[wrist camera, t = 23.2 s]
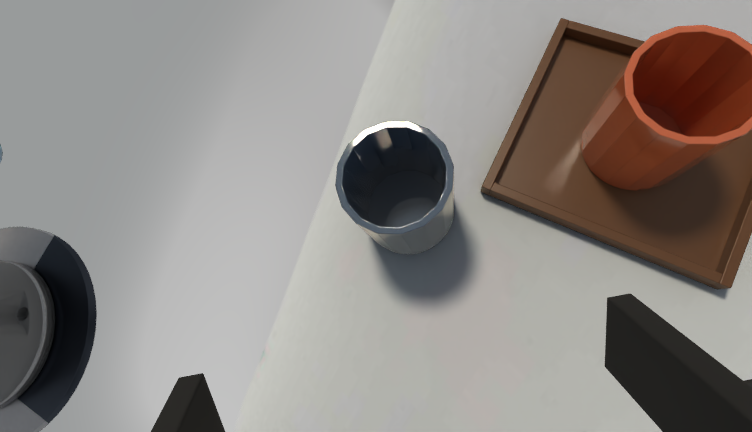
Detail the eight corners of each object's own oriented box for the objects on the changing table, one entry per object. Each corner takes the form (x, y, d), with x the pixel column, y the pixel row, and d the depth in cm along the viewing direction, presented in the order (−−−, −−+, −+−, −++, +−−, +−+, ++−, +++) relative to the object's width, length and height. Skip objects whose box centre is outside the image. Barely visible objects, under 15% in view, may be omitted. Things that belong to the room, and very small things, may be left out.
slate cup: (350, 231, 39) (315, 204, 29) (388, 155, 40) (367, 105, 30) (429, 269, 37) (421, 254, 27) (468, 188, 38) (473, 145, 28)
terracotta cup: (565, 168, 36) (605, 116, 27) (601, 88, 37) (651, 10, 28) (665, 206, 34) (747, 164, 24) (700, 120, 35) (792, 47, 26)
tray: (480, 192, 38) (481, 186, 36) (556, 29, 40) (561, 17, 38) (717, 289, 32) (731, 288, 31) (790, 97, 35) (806, 86, 33)
